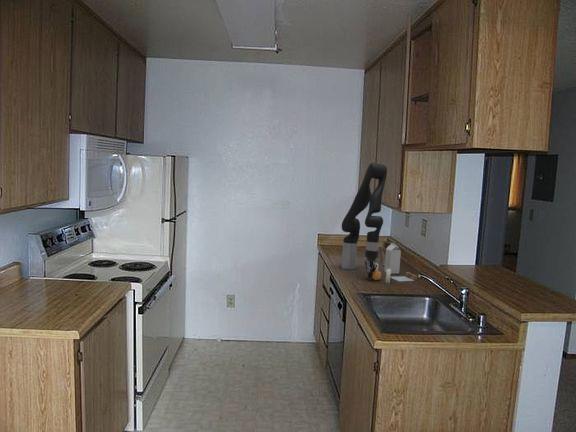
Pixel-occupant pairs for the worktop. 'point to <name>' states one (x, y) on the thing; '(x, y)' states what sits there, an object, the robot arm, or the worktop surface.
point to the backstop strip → (411, 276)
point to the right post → (388, 275)
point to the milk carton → (392, 258)
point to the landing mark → (401, 278)
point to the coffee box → (384, 251)
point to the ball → (376, 275)
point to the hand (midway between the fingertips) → (369, 278)
